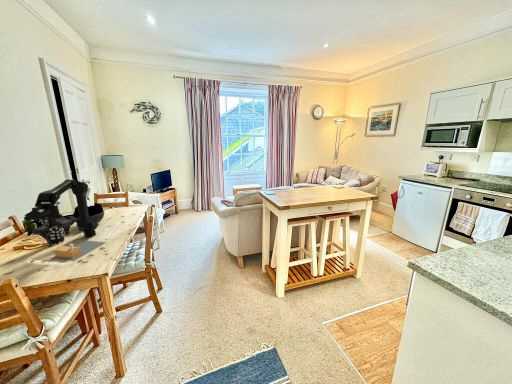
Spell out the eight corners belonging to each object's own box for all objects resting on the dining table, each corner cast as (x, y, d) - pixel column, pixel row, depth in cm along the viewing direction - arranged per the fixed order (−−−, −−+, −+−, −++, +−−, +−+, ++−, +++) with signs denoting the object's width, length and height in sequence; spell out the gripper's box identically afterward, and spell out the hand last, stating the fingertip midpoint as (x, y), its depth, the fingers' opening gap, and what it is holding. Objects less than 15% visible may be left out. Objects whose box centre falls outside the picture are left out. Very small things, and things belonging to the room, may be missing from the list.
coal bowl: (69, 227, 164) (63, 205, 159) (96, 218, 182) (92, 198, 177) (85, 232, 157) (80, 208, 152) (111, 222, 175) (107, 200, 170)
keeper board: (50, 261, 120) (46, 246, 118) (86, 242, 141) (83, 230, 139) (74, 263, 118) (71, 249, 115) (107, 244, 139) (104, 231, 136)
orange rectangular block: (55, 256, 122) (53, 250, 121) (64, 251, 127) (62, 246, 126) (73, 258, 120) (71, 251, 119) (81, 253, 125) (79, 247, 124)
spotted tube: (68, 242, 141) (61, 214, 136) (53, 248, 134) (45, 219, 129) (60, 240, 144) (53, 213, 139) (45, 246, 136) (37, 217, 131)
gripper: (46, 221, 107) (53, 248, 111) (80, 209, 125) (86, 233, 129) (28, 219, 109) (36, 246, 113) (65, 208, 127) (70, 232, 131)
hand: (59, 239), depth 121 cm, fingers open, 9 cm apart
